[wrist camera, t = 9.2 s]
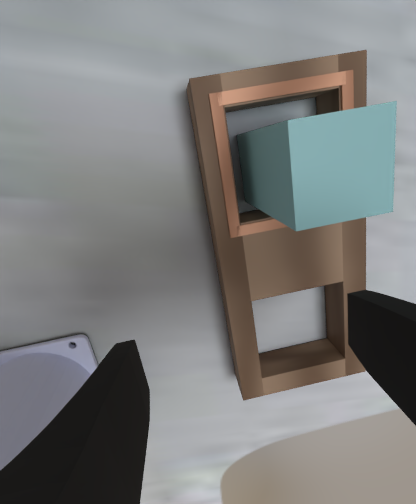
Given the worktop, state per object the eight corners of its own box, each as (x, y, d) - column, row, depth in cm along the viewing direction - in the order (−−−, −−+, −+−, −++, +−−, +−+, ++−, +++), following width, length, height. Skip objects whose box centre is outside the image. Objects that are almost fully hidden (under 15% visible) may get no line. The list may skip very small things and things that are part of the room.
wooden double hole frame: (235, 375, 23) (243, 401, 21) (186, 89, 17) (189, 77, 14) (345, 349, 24) (366, 372, 21) (339, 64, 17) (368, 48, 15)
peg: (245, 201, 19) (295, 231, 12) (236, 135, 18) (287, 120, 10) (305, 189, 19) (393, 211, 12) (301, 123, 18) (396, 100, 11)
